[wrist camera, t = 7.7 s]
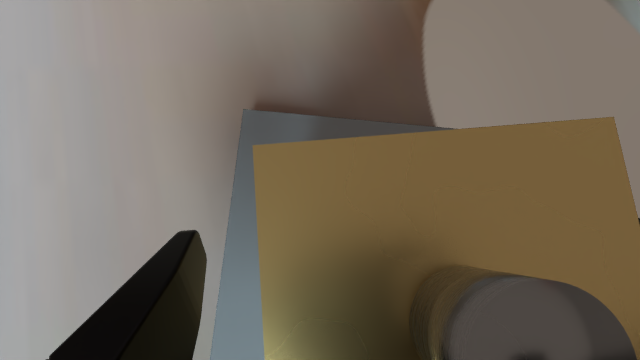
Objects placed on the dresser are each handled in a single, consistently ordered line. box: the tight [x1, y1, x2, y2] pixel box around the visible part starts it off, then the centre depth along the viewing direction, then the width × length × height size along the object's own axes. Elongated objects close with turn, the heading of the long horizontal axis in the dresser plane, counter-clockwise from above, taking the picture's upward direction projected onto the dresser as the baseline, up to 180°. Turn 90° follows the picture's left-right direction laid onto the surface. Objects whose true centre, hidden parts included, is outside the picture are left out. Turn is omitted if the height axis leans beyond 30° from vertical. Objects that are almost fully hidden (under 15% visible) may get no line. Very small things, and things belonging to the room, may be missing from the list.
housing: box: [253, 117, 640, 360], centre depth 9 cm, size 5×5×14 cm
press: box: [210, 109, 453, 360], centre depth 14 cm, size 14×12×8 cm
